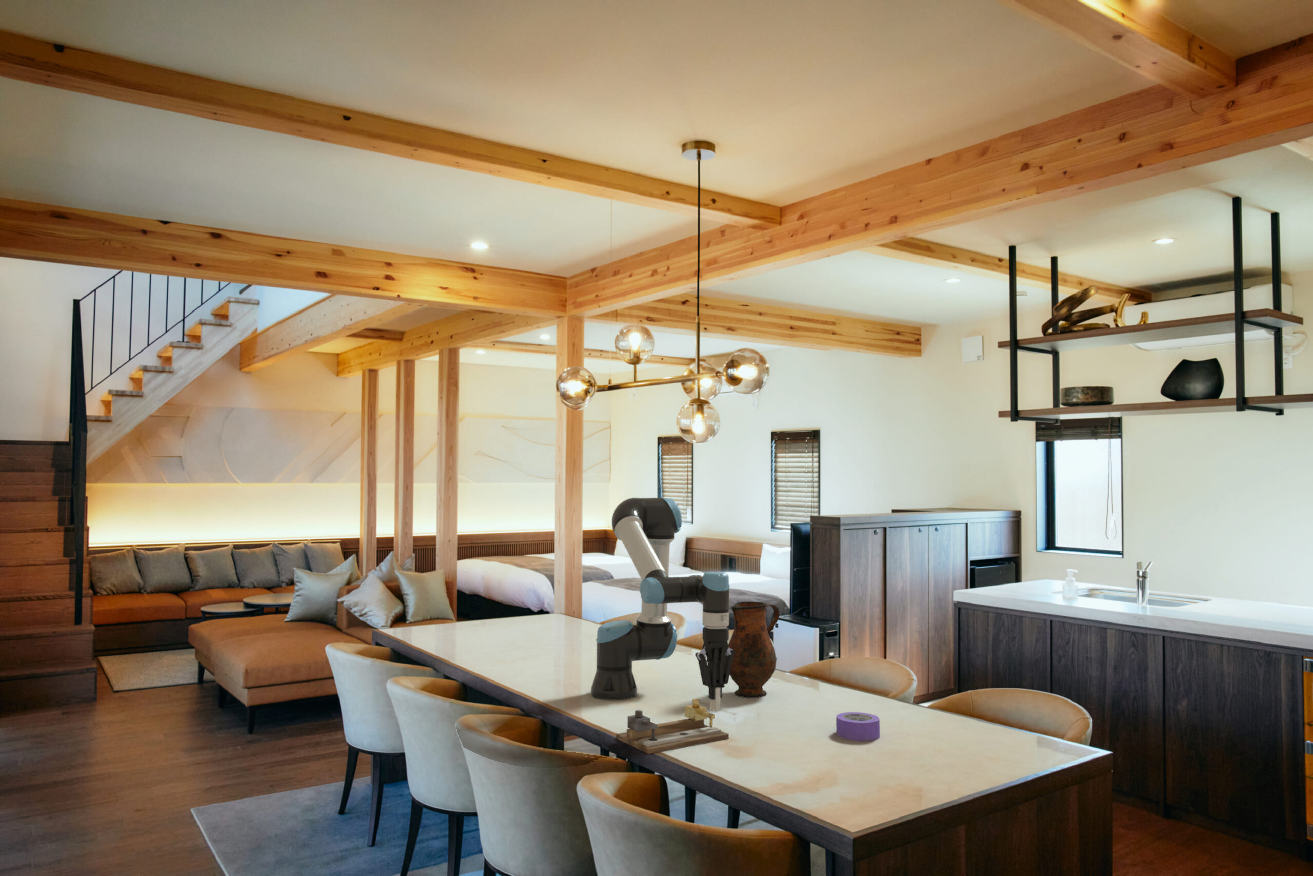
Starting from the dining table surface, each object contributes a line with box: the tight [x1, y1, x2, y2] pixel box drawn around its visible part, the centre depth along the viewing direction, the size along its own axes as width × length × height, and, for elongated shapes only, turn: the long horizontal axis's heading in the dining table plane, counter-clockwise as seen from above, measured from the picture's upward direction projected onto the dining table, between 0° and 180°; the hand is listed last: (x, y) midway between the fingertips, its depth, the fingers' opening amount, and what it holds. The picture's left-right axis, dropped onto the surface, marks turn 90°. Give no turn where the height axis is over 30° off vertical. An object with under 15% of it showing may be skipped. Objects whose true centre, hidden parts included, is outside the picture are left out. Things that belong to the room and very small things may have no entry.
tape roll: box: [835, 711, 881, 742], centre depth 236 cm, size 12×12×5 cm
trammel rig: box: [615, 709, 729, 755], centre depth 230 cm, size 16×26×8 cm, turn 124°
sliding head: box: [684, 698, 716, 728], centre depth 236 cm, size 10×4×6 cm, turn 34°
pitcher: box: [728, 601, 780, 699], centre depth 283 cm, size 17×21×30 cm
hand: (715, 710), depth 242 cm, fingers closed
